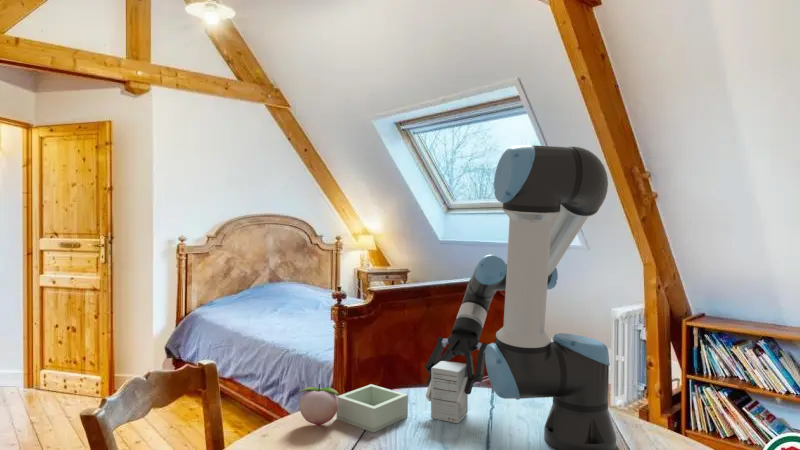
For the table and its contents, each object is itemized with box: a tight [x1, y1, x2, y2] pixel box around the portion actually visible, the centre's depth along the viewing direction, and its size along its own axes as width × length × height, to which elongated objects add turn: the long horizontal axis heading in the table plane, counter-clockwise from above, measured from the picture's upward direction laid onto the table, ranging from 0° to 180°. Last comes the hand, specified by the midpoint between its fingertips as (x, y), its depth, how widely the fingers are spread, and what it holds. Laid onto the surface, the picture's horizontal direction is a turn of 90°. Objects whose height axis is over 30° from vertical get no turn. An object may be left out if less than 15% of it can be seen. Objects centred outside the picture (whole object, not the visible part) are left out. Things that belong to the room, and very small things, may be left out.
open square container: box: [336, 383, 409, 433], centre depth 127 cm, size 12×12×6 cm
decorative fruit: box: [299, 383, 340, 427], centre depth 121 cm, size 9×8×10 cm
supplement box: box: [430, 361, 469, 424], centre depth 128 cm, size 7×7×13 cm
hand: (443, 401), depth 125 cm, fingers closed on supplement box, 8 cm apart
